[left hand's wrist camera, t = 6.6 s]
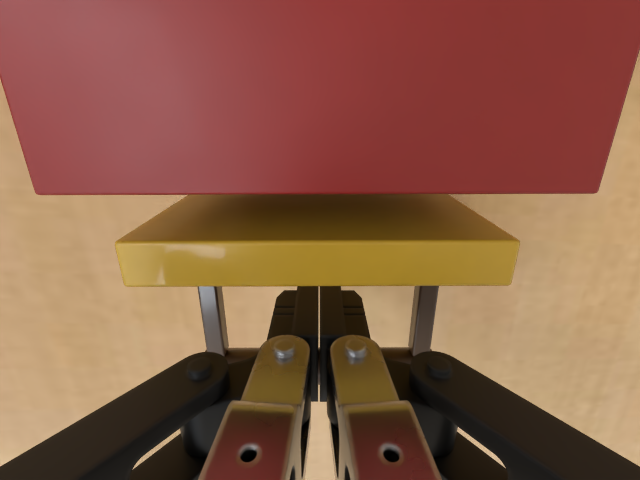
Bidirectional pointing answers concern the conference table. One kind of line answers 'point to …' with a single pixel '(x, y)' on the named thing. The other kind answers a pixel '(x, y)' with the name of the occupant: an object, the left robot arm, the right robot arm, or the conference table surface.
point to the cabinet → (317, 94)
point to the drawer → (317, 251)
